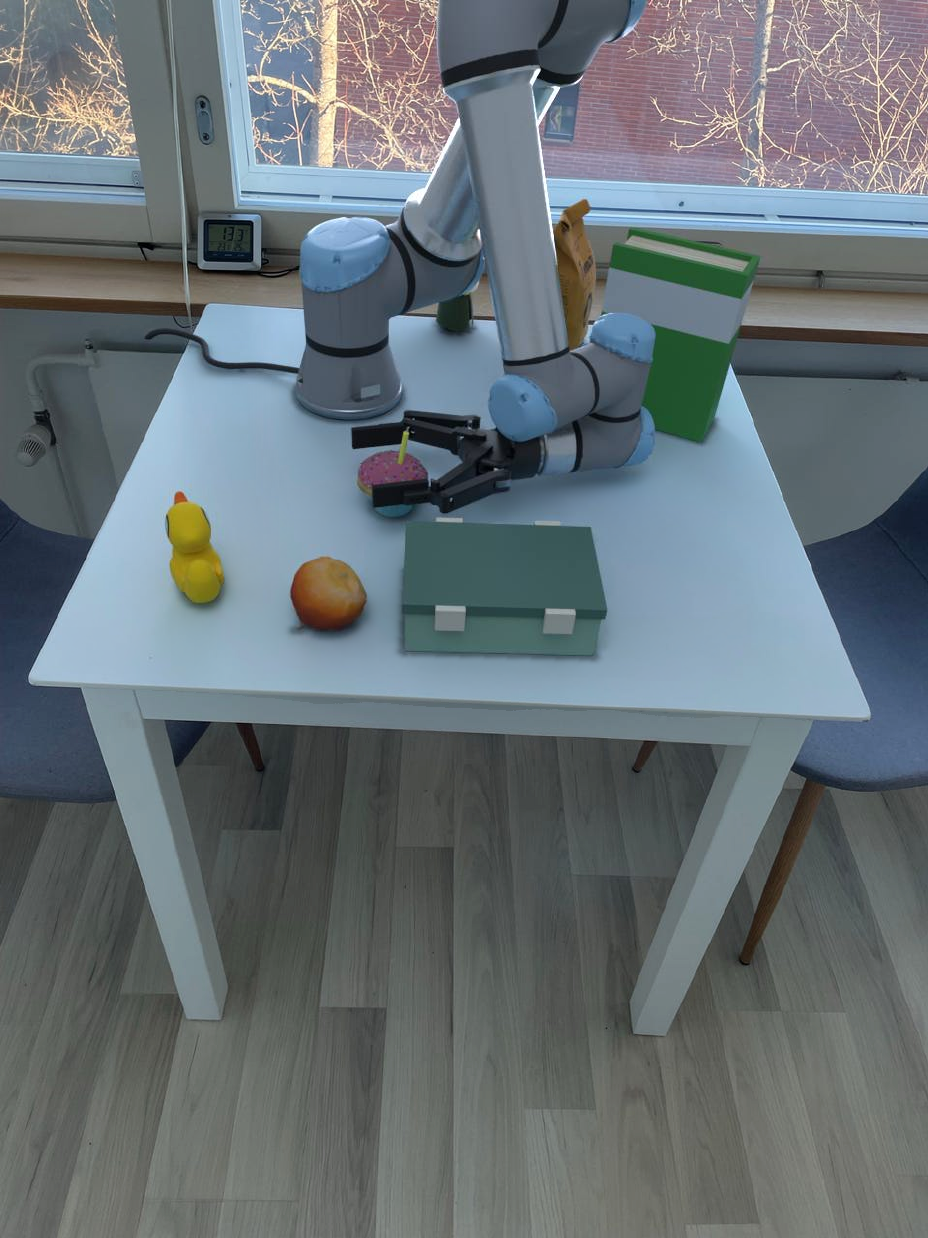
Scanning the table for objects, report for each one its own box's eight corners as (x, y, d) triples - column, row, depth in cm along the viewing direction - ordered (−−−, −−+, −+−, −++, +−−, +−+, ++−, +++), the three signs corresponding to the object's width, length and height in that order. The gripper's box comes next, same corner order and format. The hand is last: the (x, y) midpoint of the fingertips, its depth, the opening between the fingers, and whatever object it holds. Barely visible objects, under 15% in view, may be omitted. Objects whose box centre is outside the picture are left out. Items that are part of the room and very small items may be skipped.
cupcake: (435, 496, 113) (439, 413, 105) (411, 534, 107) (412, 449, 99) (374, 480, 115) (372, 397, 106) (346, 517, 109) (342, 432, 100)
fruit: (276, 583, 97) (310, 534, 93) (340, 609, 100) (376, 563, 96) (270, 635, 91) (307, 585, 87) (338, 661, 95) (376, 614, 90)
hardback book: (585, 408, 131) (613, 244, 114) (602, 387, 136) (631, 226, 119) (701, 442, 126) (747, 275, 109) (714, 418, 131) (760, 255, 114)
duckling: (166, 557, 101) (150, 485, 94) (214, 548, 103) (201, 477, 96) (183, 623, 94) (166, 549, 87) (234, 611, 96) (222, 539, 89)
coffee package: (595, 340, 147) (619, 202, 132) (567, 371, 139) (589, 227, 124) (541, 325, 150) (558, 188, 135) (510, 354, 142) (524, 212, 126)
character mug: (455, 343, 143) (459, 263, 134) (418, 330, 146) (420, 251, 137) (489, 319, 150) (495, 242, 141) (454, 308, 153) (458, 231, 144)
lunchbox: (401, 658, 92) (402, 609, 87) (405, 564, 103) (406, 515, 98) (597, 663, 93) (608, 615, 88) (580, 569, 104) (590, 522, 99)
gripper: (562, 528, 105) (383, 553, 100) (500, 422, 121) (344, 439, 116) (571, 476, 100) (383, 499, 95) (505, 373, 116) (342, 387, 111)
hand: (361, 466), depth 105 cm, fingers open, 12 cm apart
